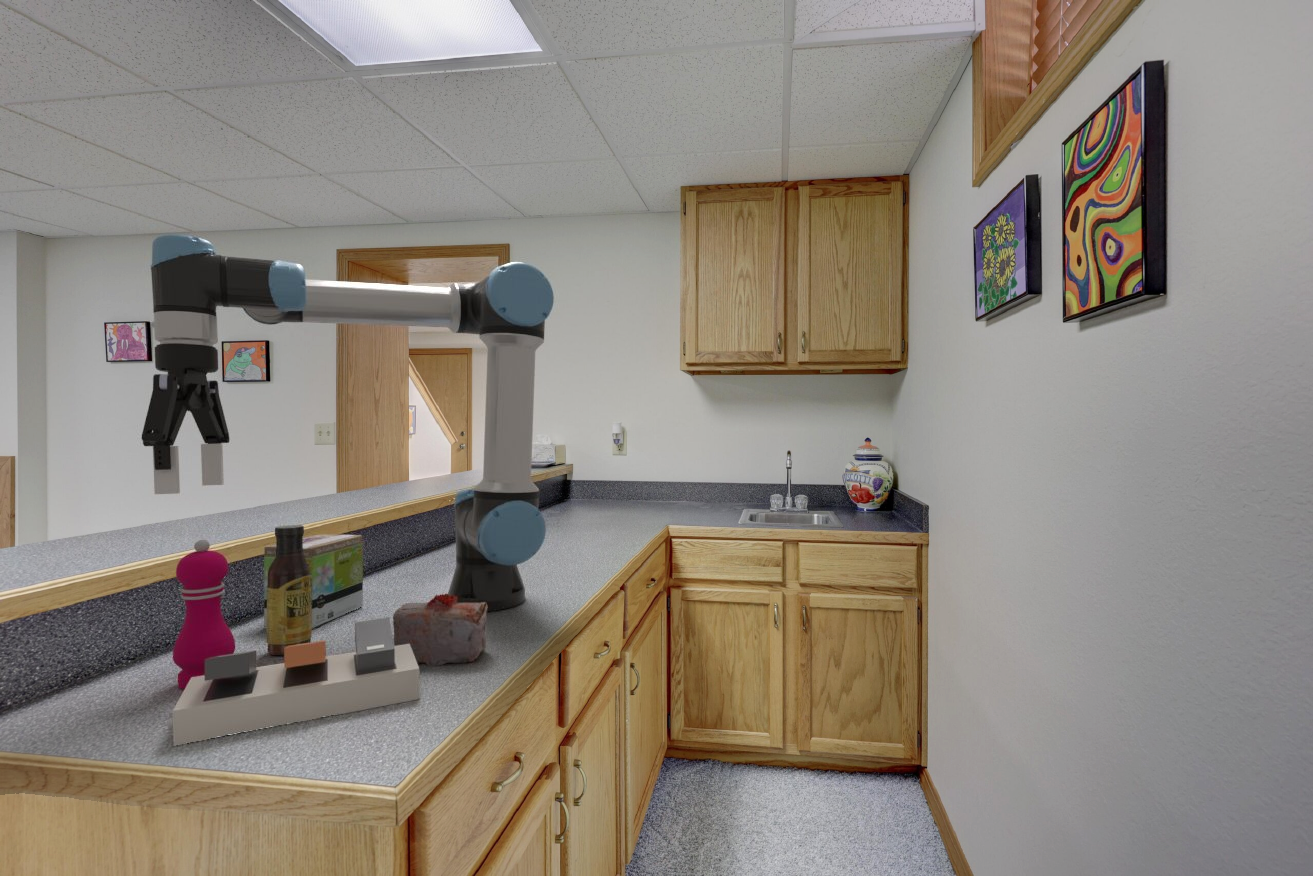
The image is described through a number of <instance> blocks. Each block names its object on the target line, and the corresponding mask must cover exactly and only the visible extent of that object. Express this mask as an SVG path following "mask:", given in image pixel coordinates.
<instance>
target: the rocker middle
mask: <svg viewBox="0 0 1313 876" xmlns="http://www.w3.org/2000/svg"><path fill="white" fill-rule="evenodd" d="M326 644H327V643H326V640H318V641H311V642H310V643H304V644H297V645H290V646H287V647H285V648H284V655H283V656H284V657H283V659H284V660H283V661H284V662H283V663H284V668H289V667H295V666H302V665H308V664H314V663H321V662H325V661H326V656H327V651H326V650H327V649H326Z"/></svg>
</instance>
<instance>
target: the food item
mask: <svg viewBox="0 0 1313 876" xmlns="http://www.w3.org/2000/svg"><path fill="white" fill-rule="evenodd" d="M457 600H458V599H457V597H456V596H454V595H452V596H450V595H448V593H444V594H443V593H442V594H439V595H438V594H436V595H434V597H433V598H432V599H431V600H430V601H428V602H427V601H426V602H424V601H423V602H409V603H404V604H402V605H401V607H399V608H398V609H396V610H395V612H394V614H393V618H392V621H393V642H394V646H397V645H404V644H410V646H411V648H412V651H413V654H414V656H415V659H416V661H417V664H418V665H419V664H420V665H421V664H422V665H423V664H427V665H428V666H430V667H437V666H443V665H445V664H449V663H453V664H458V663H459V664H460V663H461V664H462V663H463V664H464V663H472V662H474V661H475V659H476V660H477V659H478V657H479V656H480V654H482V653H484V652H485V651H486V648H487V635H486V629H487V613H488V611H487V608H488V606H487V603H486V602H481V603H457Z"/></svg>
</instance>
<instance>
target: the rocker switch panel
mask: <svg viewBox="0 0 1313 876" xmlns="http://www.w3.org/2000/svg"><path fill="white" fill-rule="evenodd" d="M394 648H395V665H392V666H386V667H380V668H374V669H368V670H362V671H357V659H356V651H353V652H347V653H339V654H335V655H326V661H325V662H321V663H314V664H308V665H302V666H295V667H289V668H284V662H282V663H276V664H275V663H274V664H268V665H261V666H256V670H255V671H253V672H251V673H250V674H245V675H238V676H232V677H226V678H219V679H213V680H207V681H205V675H203V676H197V677H191V679H190V681H189V682H188V684H187V686H186V688H185V690H183V692H182V693H181V695H180V697H179V699H178V701H177V702H176V705H175V706H174V708H173V709H172V730H173V731H172V732H173V734H172V735H173V739H172V740H173V747H177V746H176V745H178V746H183V745H187V743H189V744H191V743H190V742H194V743H197V742H196V741H199V742H203V741H202V740H204V741H206V740H205V739H209V740H211V739H210V738H215V737H217V736H224V735H228V734H234V733H238V732H244V731H250V730H256V729H260V728H266V727H270V726H277V725H282V724H287V723H292V722H298V723H301V721H303V722H307V720H308V721H311V720H312V719H313V720H316V719H315V718H318V719H321V718H320V717H323V716H329V717H332V716H331V715H334V716H337V715H338V714H339V715H343V714H348V713H354V712H358V711H365V710H370V709H375V708H380V707H384V706H390V705H394V704H401V703H406V702H411V701H417V700H421V697H420V695H421V694H420V693H421V691H420V690H421V689H420V688H421V687H420V685H421V683H420V666H419V664H417V661H416V659H415V656H414V654H413V651H412V648H411V646H410V644H404V645H397V646H394ZM313 720H312V721H313ZM287 725H288V724H287ZM282 726H283V725H282ZM277 727H278V726H277ZM256 731H257V730H256ZM215 739H216V738H215ZM182 744H183V745H182Z"/></svg>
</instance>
